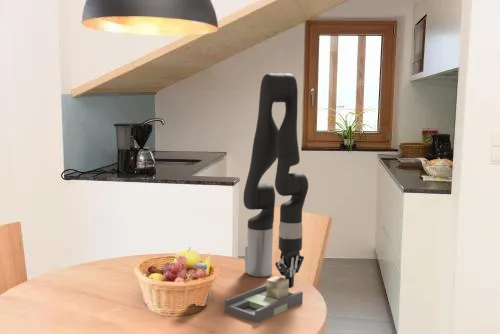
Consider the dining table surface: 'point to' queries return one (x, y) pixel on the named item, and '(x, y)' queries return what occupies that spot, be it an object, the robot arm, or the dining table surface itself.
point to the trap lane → (260, 304)
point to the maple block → (277, 287)
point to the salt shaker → (204, 266)
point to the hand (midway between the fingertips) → (289, 287)
